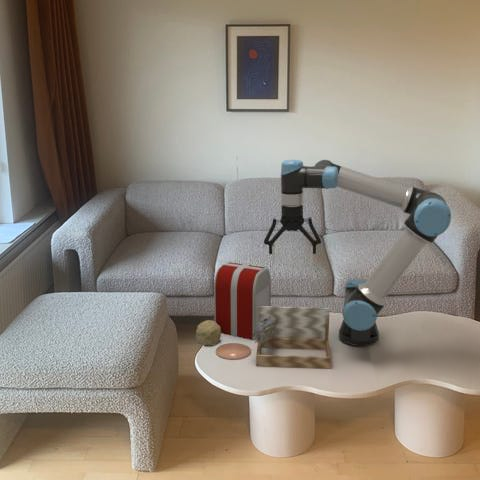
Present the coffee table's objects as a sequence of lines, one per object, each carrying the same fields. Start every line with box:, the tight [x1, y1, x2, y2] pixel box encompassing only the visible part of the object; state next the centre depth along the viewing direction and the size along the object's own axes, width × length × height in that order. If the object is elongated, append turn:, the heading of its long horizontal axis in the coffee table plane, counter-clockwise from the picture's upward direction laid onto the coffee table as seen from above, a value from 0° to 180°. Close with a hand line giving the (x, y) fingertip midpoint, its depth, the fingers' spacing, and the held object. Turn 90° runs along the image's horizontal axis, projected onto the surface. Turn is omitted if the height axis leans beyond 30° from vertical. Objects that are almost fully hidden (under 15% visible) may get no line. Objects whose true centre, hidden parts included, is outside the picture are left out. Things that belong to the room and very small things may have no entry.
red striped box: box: [213, 261, 272, 341], centre depth 259 cm, size 16×18×27 cm
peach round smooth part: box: [215, 342, 252, 361], centre depth 243 cm, size 13×13×1 cm
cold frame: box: [255, 305, 332, 370], centre depth 237 cm, size 26×17×16 cm, turn 86°
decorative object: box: [195, 319, 222, 346], centre depth 251 cm, size 9×10×10 cm
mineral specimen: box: [252, 317, 277, 350], centre depth 239 cm, size 15×8×4 cm
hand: (292, 262), depth 236 cm, fingers open, 13 cm apart
